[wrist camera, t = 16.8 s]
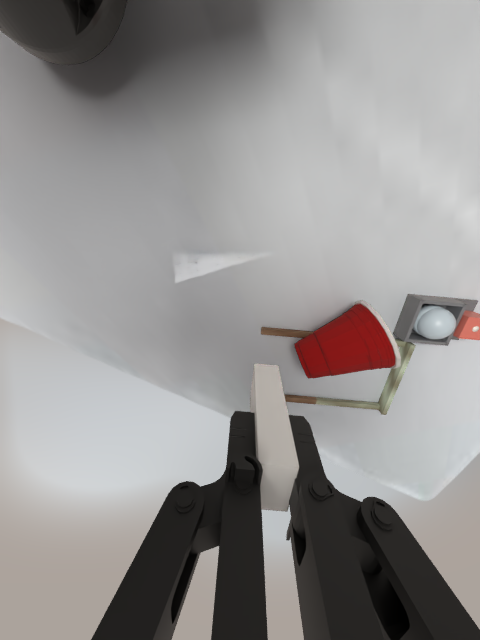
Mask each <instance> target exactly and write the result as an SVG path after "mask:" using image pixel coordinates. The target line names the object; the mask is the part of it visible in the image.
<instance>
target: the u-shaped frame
mask: <svg viewBox="0 0 480 640" xmlns="http://www.w3.org/2000/svg"><path fill="white" fill-rule="evenodd" d="M312 333H313V332H312V331H301V330H290V329H278V328H267V327H262V328H261V334H264V335H275V336H287V337H298V338H305V337H307V336H308V335H310V334H312ZM395 341H396V343H397V346H399V347H400V349H399V353H400V356H401V365H400V366H399V367H398V368H394V369H391V372H390V374H389V377H388V379H387V382H386V384H385V387H384V389H383V392H382V394H381V397H380V399H379V402H378V403H374V402H363V401H352V400H341V399H329V398H318V397H307V396H296V395H284V396H285V401H286V402H297V403H308V404H319V405H331V406H342V407H353V408H364V409H376V410H379V411H380V412H381V414H382V415H386V414H387V411H388V409H389V407H390V404H391V402H392V400H393V397H394V395H395V393H396V390H397V388H398V386H399V383H400V381H401V379H402V376H403V374H404V372H405V369H406V367H407V365H408V362H409V360H410V358H411V355H412V353H413V351H414V348H415V345H414V344H413V343H411V342H404V341H403V340H401V339H395Z"/></svg>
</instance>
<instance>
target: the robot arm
mask: <svg viewBox="0 0 480 640" xmlns="http://www.w3.org/2000/svg"><path fill="white" fill-rule="evenodd" d="M126 3H127V0H0V31H2V32H3V33H4V34H5V35H7V36H8V37H9V38H11V39H12V40H13V41H14V42H16V43H17V44H18V45H20V46H21V47H22V48H24V49H25V50H26V51H28V52H29V53H31V54H33V55H34V56H36V57H38V58H40V59H43V60H45V61H48V62H51V63H55V64H61V65H74V64H79V63H83V62H85V61H88V60H90V59H92V58H94V57H95V56H97V55H98V54H99V53H100V52H102V51H103V50H104V49H105V48H106V47H107V45H108V44H109V43H110V42H111V40H112V39H113V37H114V35H115V34H116V32H117V30H118V28H119V26H120V23H121V21H122V18H123V15H124V11H125V7H126ZM289 505H290V512H291V520H290V524H289V527H288V530H287V539H286V540H290V536H291V543H292V551H293V559H294V566H295V574H296V581H297V589H298V597H299V604H300V612H301V619H302V627H303V634H304V640H480V630H479V628H478V627H477V625H476V624H475V622H474V621H473V620H472V618H471V617H470V615H469V614H468V613H467V612H466V610H465V609H464V607H463V606H462V604H461V603H460V601H459V600H458V599H457V597H456V596H455V594H454V593H453V591H452V590H451V589H450V587H449V586H448V585H447V583H446V582H445V580H444V579H443V577H442V576H441V574H440V573H439V572H438V570H437V569H436V567H435V566H434V565H433V563H432V562H431V560H430V559H429V558H428V556H427V555H426V553H425V552H424V550H422V548H421V546H420V545H419V543H418V542H417V541H416V539H415V538H414V536H413V535H412V534H411V532H410V531H409V529H408V528H407V526H406V525H405V524H404V522H403V521H402V519H401V518H400V517H399V515H398V514H397V513H396V512H395V510H394V509H393V508H392V507H391V506H390V505H389V504H387V503H386V502H385V501H383V500H381V499H378V498H376V497H367V498H365V499H364V500H363V502H360V501H358V500H356V499H353V498H351V497H349V496H346V495H344V494H342V493H340V492H339V491H338V490H337V489H335V488H334V486H333V485H332V483H331V482H330V481H329V480H328V479H327V478H326V475H325V473H324V470H323V466H322V463H321V460H320V456H319V453H318V450H317V446H316V444H315V440H314V437H313V433H312V430H311V427H310V424H309V423H308V422H307V420H306V419H305V418H304V416H293V415H288V410H287V406H286V401H285V396H284V391H283V386H282V382H281V377H280V372H279V367H278V366H277V365H265V364H254V371H253V379H252V387H251V395H250V412H241V411H235V413H234V414H233V416H232V417H231V421H230V433H229V444H228V455H227V465H226V470H225V472H224V474H223V475H222V477H221V478H220V479H219V480H217V481H216V482H214V483H211V484H208V485H205V486H201V487H200V486H199V485H197V484H196V483H194V482H188V481H186V482H182V483H179V484H178V485H176V486H175V487H174V488H173V489H172V490H171V491H170V493H169V494H168V496H167V497H166V499H165V501H164V503H163V505H162V507H161V509H160V511H159V513H158V514H157V517H156V518H155V520H154V522H153V524H152V526H151V528H150V530H149V532H148V533H147V535H146V537H145V539H144V541H143V543H142V545H141V547H140V549H139V550H138V552H137V554H136V556H135V558H134V560H133V562H132V564H131V566H130V567H129V569H128V571H127V573H126V575H125V577H124V579H123V581H122V583H121V584H120V587H119V588H118V590H117V592H116V594H115V596H114V598H113V600H112V601H111V603H110V605H109V607H108V609H107V611H106V613H105V615H104V617H103V618H102V620H101V622H100V624H99V626H98V628H97V630H96V632H95V634H94V635H93V637H92V639H91V640H171V639H172V636H173V633H174V630H175V627H176V624H177V621H178V618H179V615H180V612H181V609H182V606H183V603H184V600H185V597H186V594H187V591H188V588H189V585H190V582H191V579H192V576H193V573H194V570H195V567H196V564H197V561H198V558H199V555H200V553H201V552H203V551H206V550H209V549H211V548H214V547H216V546H219V557H218V568H217V579H216V592H215V603H214V614H213V625H212V636H211V640H268V638H267V617H266V596H265V575H264V555H263V533H262V513H261V509H264V510H276V511H288V507H289Z"/></svg>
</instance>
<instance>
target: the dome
mask: <svg viewBox="0 0 480 640" xmlns="http://www.w3.org/2000/svg"><path fill="white" fill-rule="evenodd" d="M455 327H456V319H455V317H454V315H453V314H452V313H451V312H450V311H448V310H446V309H444V308H442V307H440V306H437V305H435V304H424V305H422V307H421V309H420V312H419V314H418V317H417V319H416V322H415V324H414V327H413V329H412V330H414V331H415V332H417V333H418V334H420V335H421V336H423V337H425V338H428V339H442V338H445V337H447V336H449V335H450V334H451V333H452V332H453V331H454V329H455Z"/></svg>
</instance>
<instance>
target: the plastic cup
mask: <svg viewBox="0 0 480 640" xmlns="http://www.w3.org/2000/svg"><path fill="white" fill-rule="evenodd" d="M294 345H295V349H296V352H297V354H298V357H299V360H300V362H301V365H302V367H303V369H304V371H305V374H306V376H307V377H308V378H318V377H324V376H330V375H331V376H334V375H340V374H346V373H352V372H358V371H364V370H373V369H378V368H379V369H381V368H392V369H394V368H398V367H399V366H400V365H401V356H400V353H399V349H398V346H397V343H396V341H395V339H394V337H393V335H392V333H391V331H390V329H389V328H388V326H387V325H386V323H385V322H384V320H383V319H382V318H381V316H380V315H379V314H378V313H377V312H376V310H375V309H374V308H373V307H372V306H371V305H370V304H368V303H366V302H365V301H363V300H361V301H357V302H356V303H355V305H354V306H353V307H352V308H351V309H349V310H348V311H347V312H345V313H344V314H343V315H342V316H340V317H338V318H336V319H335V320H333V321H331V322H330V323H328V324H326V325H324V326H323V327H321V328H319V329H318V330H316V331H314V332H313V333H312V334H310V335H308V336H307V337H305V338H303V339H301V340H299V341H298V342H297V343H295V344H294Z"/></svg>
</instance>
